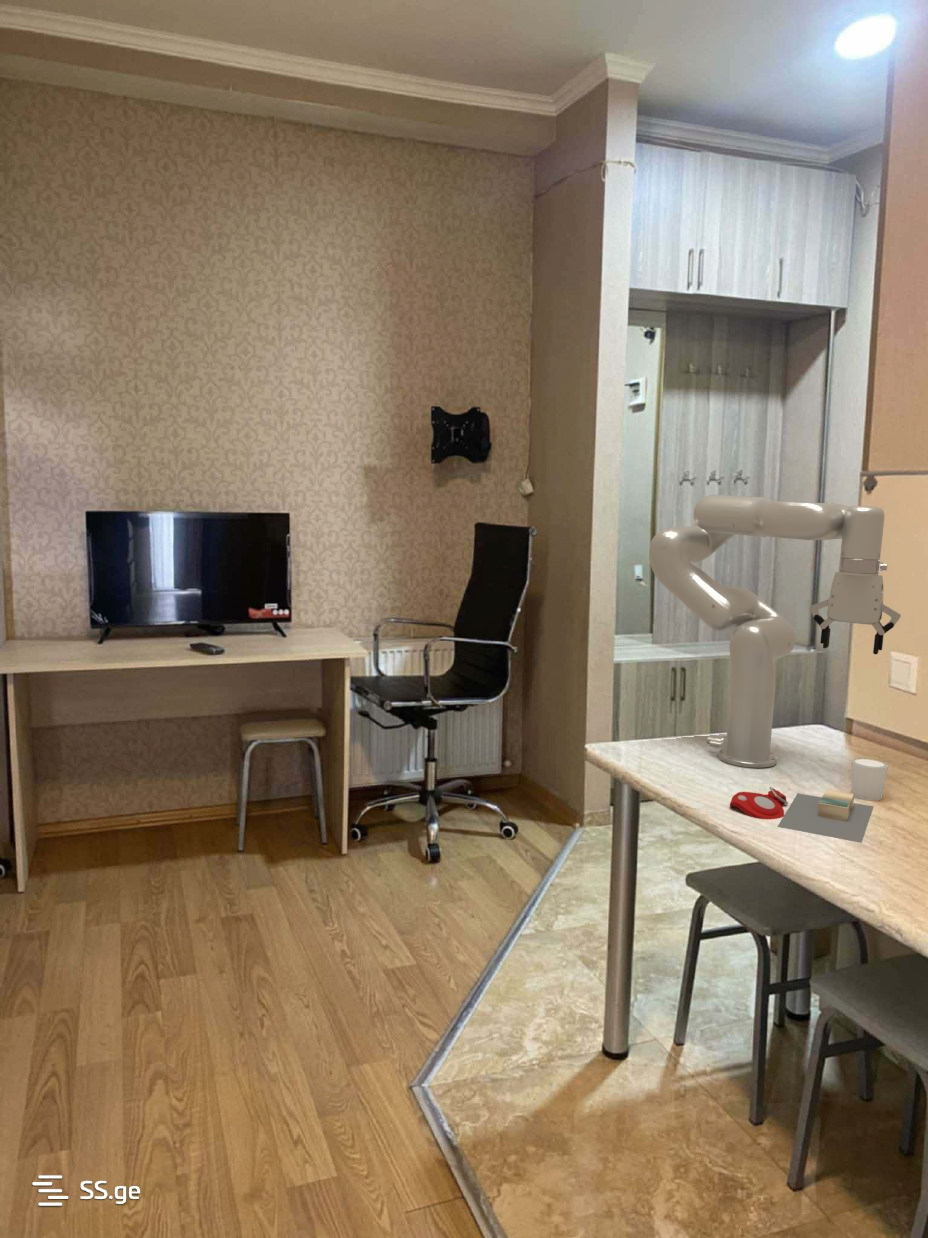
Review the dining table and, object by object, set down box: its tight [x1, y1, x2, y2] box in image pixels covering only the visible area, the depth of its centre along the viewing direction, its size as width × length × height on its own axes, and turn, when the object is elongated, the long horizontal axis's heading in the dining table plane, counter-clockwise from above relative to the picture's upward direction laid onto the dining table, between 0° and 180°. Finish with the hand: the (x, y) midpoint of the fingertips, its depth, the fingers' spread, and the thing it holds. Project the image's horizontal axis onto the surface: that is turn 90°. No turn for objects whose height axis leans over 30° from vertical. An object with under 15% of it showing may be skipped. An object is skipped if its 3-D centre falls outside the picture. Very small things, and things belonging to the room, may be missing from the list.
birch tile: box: [818, 788, 855, 821], centre depth 180 cm, size 10×5×3 cm, turn 152°
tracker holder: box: [729, 786, 789, 820], centre depth 181 cm, size 12×4×10 cm
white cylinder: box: [850, 757, 889, 802], centre depth 191 cm, size 7×7×7 cm
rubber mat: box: [777, 793, 874, 844], centre depth 177 cm, size 14×22×1 cm, turn 152°
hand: (850, 650), depth 196 cm, fingers open, 9 cm apart
